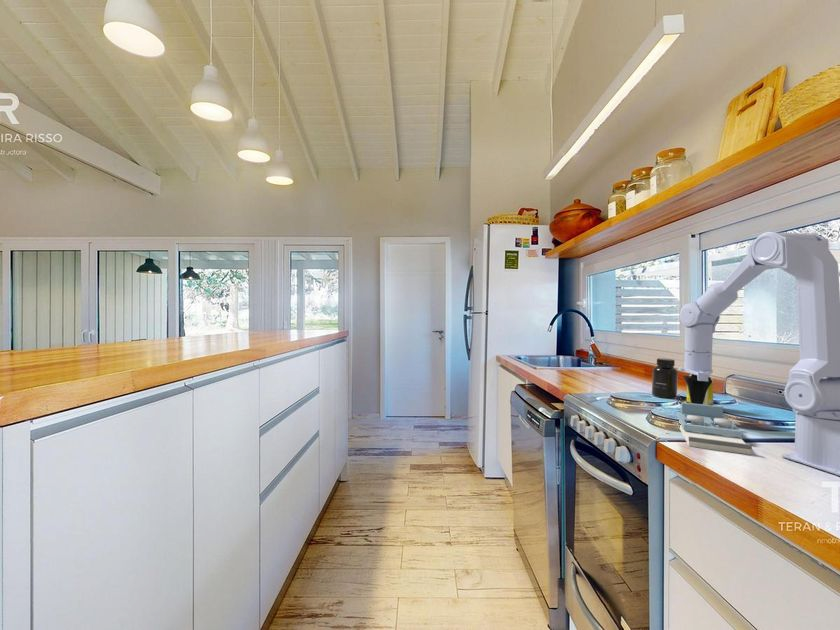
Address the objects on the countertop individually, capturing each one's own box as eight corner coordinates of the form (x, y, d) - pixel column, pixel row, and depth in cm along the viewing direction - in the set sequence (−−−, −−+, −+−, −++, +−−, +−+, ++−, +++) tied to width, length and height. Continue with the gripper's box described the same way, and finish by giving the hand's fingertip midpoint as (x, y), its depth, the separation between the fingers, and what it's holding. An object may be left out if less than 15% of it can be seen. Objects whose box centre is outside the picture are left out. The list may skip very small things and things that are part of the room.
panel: (741, 437, 81) (741, 419, 81) (683, 430, 85) (684, 413, 85) (726, 422, 92) (727, 406, 92) (676, 416, 96) (676, 401, 96)
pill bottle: (704, 404, 114) (705, 367, 114) (718, 410, 108) (719, 370, 108) (681, 404, 115) (682, 366, 114) (694, 409, 108) (695, 370, 108)
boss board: (751, 454, 75) (752, 435, 75) (688, 445, 79) (689, 427, 79) (725, 426, 93) (725, 410, 92) (675, 420, 97) (675, 405, 97)
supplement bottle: (655, 398, 122) (656, 359, 122) (649, 393, 129) (650, 357, 129) (680, 399, 120) (681, 361, 120) (673, 395, 127) (674, 358, 127)
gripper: (675, 348, 107) (674, 397, 107) (683, 353, 94) (682, 409, 94) (706, 349, 104) (705, 400, 104) (719, 355, 91) (718, 413, 91)
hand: (696, 404), depth 99 cm, fingers closed
